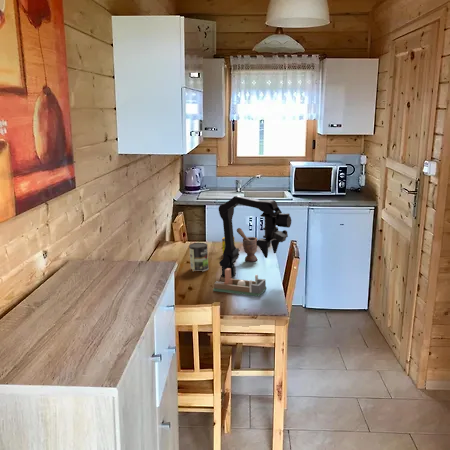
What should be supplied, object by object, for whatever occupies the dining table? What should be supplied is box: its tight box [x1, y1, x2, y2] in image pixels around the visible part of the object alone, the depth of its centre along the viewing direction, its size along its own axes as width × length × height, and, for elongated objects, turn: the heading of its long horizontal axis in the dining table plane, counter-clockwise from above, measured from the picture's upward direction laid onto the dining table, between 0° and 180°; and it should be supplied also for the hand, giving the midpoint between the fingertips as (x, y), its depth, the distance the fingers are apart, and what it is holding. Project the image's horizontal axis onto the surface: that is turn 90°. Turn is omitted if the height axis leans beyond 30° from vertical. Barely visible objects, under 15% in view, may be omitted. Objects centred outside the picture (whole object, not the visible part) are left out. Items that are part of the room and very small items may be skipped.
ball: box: [237, 279, 245, 286], centre depth 240 cm, size 4×4×4 cm
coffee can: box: [188, 242, 209, 272], centre depth 274 cm, size 10×10×14 cm
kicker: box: [214, 268, 234, 285], centre depth 244 cm, size 8×6×9 cm
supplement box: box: [221, 237, 235, 254], centre depth 299 cm, size 6×6×11 cm
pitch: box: [212, 274, 267, 297], centre depth 240 cm, size 24×11×7 cm, turn 66°
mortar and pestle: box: [236, 227, 258, 263], centre depth 284 cm, size 12×9×20 cm
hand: (270, 255), depth 247 cm, fingers open, 9 cm apart
